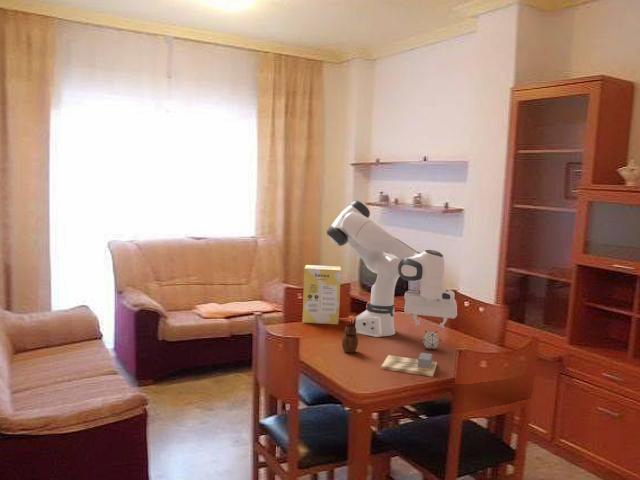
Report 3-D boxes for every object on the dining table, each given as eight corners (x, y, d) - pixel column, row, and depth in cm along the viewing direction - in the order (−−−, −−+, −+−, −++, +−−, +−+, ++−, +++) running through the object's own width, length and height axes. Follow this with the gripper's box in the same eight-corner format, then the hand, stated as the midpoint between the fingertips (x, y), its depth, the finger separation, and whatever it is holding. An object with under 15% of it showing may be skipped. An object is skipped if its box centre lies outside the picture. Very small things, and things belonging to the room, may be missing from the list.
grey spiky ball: (432, 358, 236) (436, 345, 229) (415, 348, 239) (418, 335, 232) (442, 345, 241) (446, 332, 234) (426, 335, 244) (429, 322, 237)
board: (381, 368, 210) (381, 365, 209) (388, 357, 223) (388, 355, 223) (432, 376, 203) (433, 373, 203) (436, 364, 217) (437, 362, 216)
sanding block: (417, 368, 208) (418, 358, 207) (420, 362, 215) (421, 352, 215) (429, 370, 207) (429, 360, 206) (431, 363, 214) (432, 354, 214)
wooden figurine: (358, 350, 231) (360, 316, 229) (355, 354, 225) (357, 320, 223) (343, 348, 233) (345, 315, 231) (340, 352, 227) (341, 318, 226)
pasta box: (338, 319, 282) (340, 266, 278) (338, 324, 271) (340, 270, 268) (304, 317, 283) (306, 264, 280) (302, 322, 272) (304, 268, 269)
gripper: (403, 291, 208) (401, 325, 210) (457, 296, 202) (455, 331, 203) (405, 288, 214) (404, 321, 216) (458, 292, 208) (456, 327, 209)
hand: (429, 326), depth 209 cm, fingers open, 8 cm apart
